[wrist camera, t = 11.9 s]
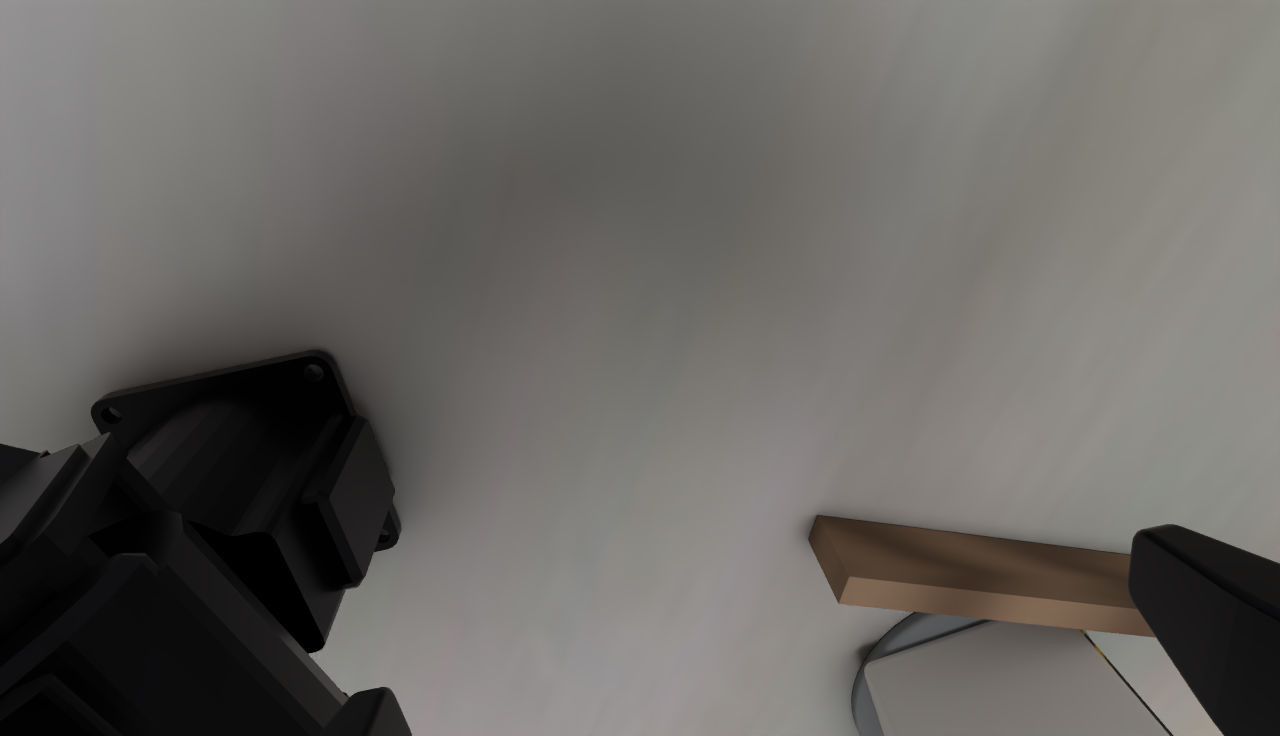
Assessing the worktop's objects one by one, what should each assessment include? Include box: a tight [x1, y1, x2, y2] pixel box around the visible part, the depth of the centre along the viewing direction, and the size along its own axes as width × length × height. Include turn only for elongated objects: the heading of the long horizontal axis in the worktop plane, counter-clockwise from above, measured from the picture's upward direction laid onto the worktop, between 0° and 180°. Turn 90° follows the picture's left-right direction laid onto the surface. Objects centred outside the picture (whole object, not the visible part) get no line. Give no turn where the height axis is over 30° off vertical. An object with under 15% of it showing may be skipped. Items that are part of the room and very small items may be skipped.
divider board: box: [808, 515, 1156, 637], centre depth 25 cm, size 20×1×3 cm, turn 78°
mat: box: [852, 612, 1090, 736], centre depth 28 cm, size 9×9×1 cm
